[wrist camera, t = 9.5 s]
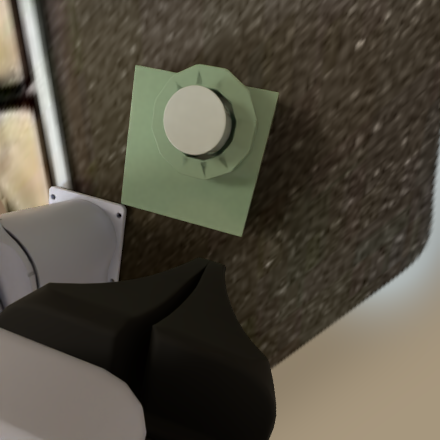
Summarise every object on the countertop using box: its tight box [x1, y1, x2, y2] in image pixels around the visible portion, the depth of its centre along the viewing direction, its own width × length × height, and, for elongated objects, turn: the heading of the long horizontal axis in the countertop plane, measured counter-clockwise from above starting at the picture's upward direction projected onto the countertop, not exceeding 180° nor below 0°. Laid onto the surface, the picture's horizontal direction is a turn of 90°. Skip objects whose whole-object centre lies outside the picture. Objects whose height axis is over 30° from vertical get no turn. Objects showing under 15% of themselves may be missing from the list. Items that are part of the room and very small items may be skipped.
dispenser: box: [121, 64, 279, 237], centre depth 18 cm, size 10×10×5 cm
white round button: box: [163, 85, 232, 155], centre depth 15 cm, size 4×4×2 cm
